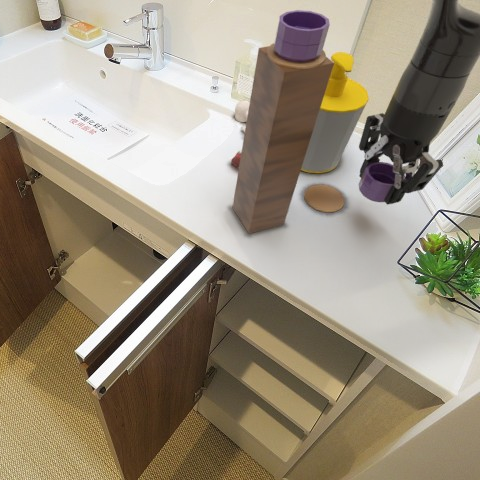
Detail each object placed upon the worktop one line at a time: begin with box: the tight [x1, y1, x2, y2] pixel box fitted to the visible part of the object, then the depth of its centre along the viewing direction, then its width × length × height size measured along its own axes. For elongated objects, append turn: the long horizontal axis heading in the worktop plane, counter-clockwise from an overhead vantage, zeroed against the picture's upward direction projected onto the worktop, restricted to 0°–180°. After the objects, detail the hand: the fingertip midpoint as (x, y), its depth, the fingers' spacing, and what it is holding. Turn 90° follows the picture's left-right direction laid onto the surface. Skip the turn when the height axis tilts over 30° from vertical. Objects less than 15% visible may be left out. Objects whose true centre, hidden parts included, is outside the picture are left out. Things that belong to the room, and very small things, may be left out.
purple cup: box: [358, 161, 406, 203], centre depth 68 cm, size 6×6×4 cm
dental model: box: [230, 150, 242, 168], centre depth 84 cm, size 6×4×8 cm
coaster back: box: [303, 184, 345, 214], centre depth 79 cm, size 7×7×1 cm
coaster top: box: [267, 42, 327, 69], centre depth 53 cm, size 7×7×1 cm
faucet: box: [234, 99, 250, 123], centre depth 91 cm, size 4×18×10 cm, turn 24°
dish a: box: [273, 9, 331, 62], centre depth 52 cm, size 6×6×4 cm
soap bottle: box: [301, 51, 370, 174], centre depth 79 cm, size 13×13×21 cm
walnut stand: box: [232, 45, 334, 235], centre depth 65 cm, size 7×7×30 cm
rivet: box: [240, 124, 246, 133], centre depth 90 cm, size 10×2×2 cm, turn 24°
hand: (377, 189), depth 69 cm, fingers closed on purple cup, 6 cm apart
